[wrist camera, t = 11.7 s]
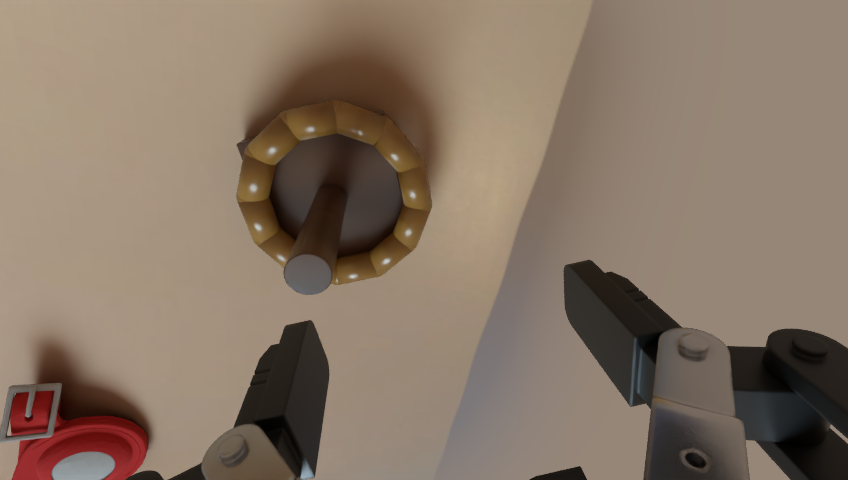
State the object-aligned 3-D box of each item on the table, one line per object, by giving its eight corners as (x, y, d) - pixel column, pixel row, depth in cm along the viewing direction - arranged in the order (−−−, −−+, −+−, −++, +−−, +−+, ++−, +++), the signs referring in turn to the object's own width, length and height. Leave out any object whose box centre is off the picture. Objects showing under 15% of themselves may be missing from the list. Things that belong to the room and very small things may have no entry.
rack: (243, 139, 25) (149, 197, 14) (383, 110, 25) (390, 146, 15) (290, 262, 29) (242, 377, 18) (410, 236, 29) (431, 335, 19)
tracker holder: (173, 451, 33) (75, 532, 33) (177, 411, 37) (88, 483, 36) (17, 394, 26) (-115, 497, 25) (39, 350, 30) (-76, 439, 29)
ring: (213, 122, 23) (201, 127, 21) (409, 84, 23) (412, 86, 22) (279, 289, 28) (273, 303, 26) (440, 255, 28) (444, 267, 27)
